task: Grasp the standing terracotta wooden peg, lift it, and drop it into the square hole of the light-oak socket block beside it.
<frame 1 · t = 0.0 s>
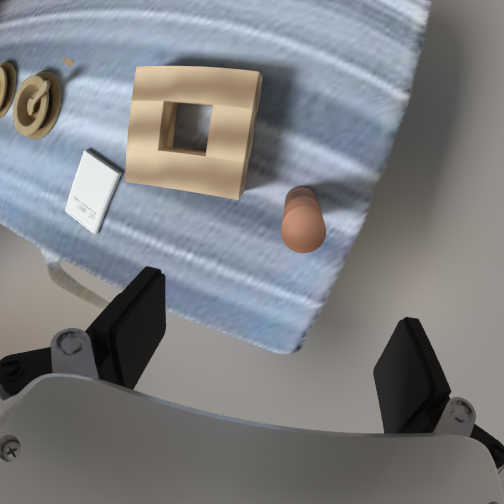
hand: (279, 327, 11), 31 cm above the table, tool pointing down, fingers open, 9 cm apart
socket block: (196, 127, 38), on the table
external hard drive: (94, 190, 45), on the table
tableware set: (21, 97, 38), on the table
peg: (301, 202, 40), on the table
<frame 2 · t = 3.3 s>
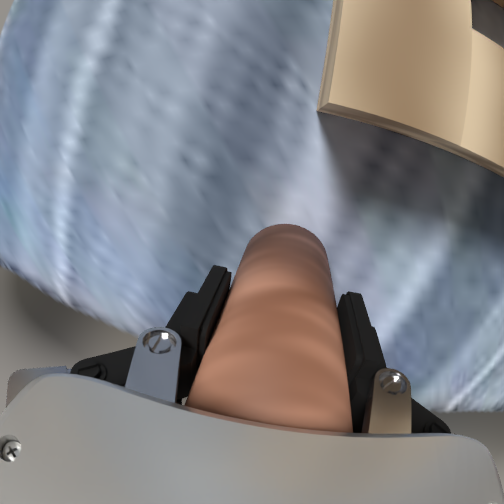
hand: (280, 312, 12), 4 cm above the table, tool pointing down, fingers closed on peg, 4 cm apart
socket block: (474, 28, 8), on the table
peg: (285, 264, 16), on the table, touching gripper
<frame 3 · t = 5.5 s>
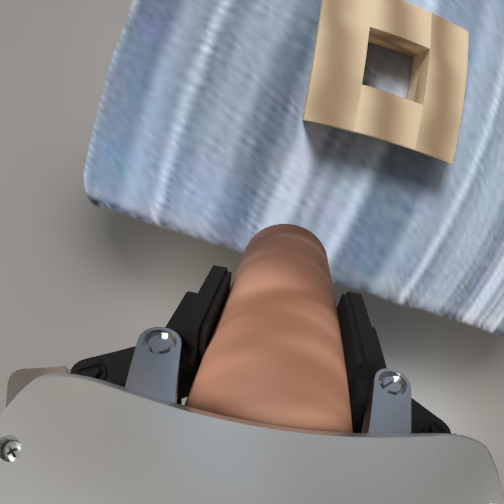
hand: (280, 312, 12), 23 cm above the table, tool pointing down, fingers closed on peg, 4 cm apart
socket block: (383, 72, 25), on the table
peg: (285, 264, 16), point 19 cm above the table, touching gripper
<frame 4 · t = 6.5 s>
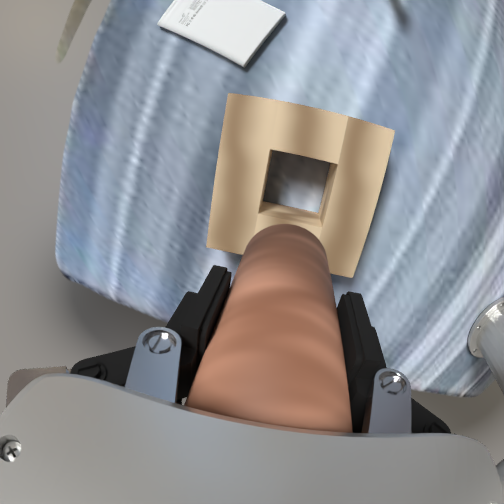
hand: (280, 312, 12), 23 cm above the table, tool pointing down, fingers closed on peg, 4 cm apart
socket block: (296, 179, 32), on the table
external hard drive: (221, 19, 26), on the table
peg: (285, 264, 16), point 19 cm above the table, touching gripper
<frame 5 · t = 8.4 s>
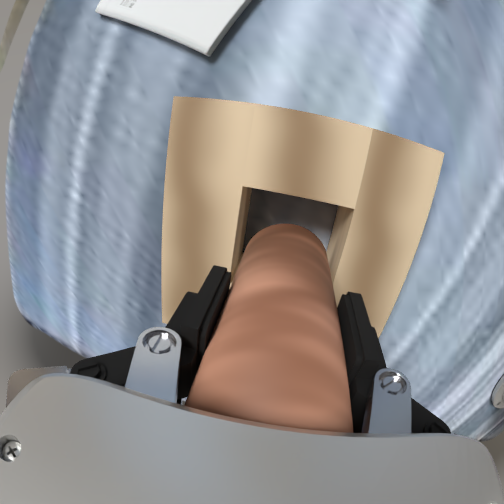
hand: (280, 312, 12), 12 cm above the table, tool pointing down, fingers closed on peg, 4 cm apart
socket block: (290, 222, 22), on the table
peg: (285, 263, 16), point 7 cm above the table, touching gripper
when the fingers open (6 cm above the table, at t = 9.8 s): peg drops 2 cm, resting in socket block.
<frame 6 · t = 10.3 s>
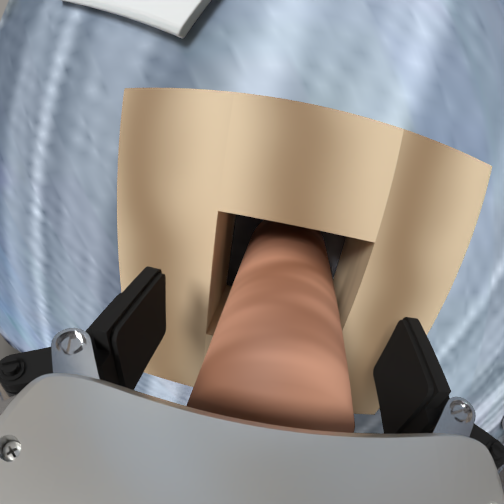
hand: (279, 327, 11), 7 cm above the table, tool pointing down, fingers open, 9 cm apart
socket block: (286, 249, 17), on the table
peg: (287, 249, 17), resting in socket block
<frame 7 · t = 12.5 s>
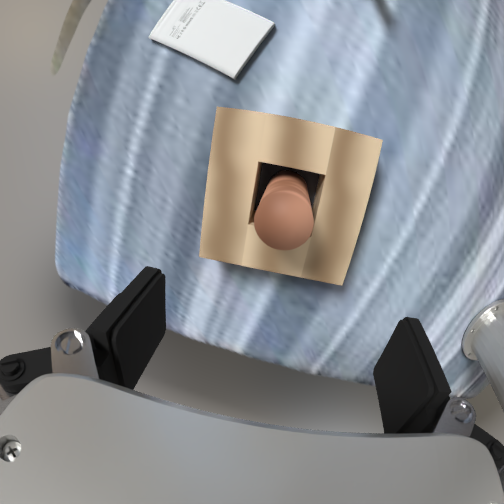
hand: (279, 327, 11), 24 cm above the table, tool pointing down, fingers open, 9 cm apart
socket block: (287, 189, 33), on the table
external hard drive: (211, 30, 27), on the table
peg: (287, 189, 33), resting in socket block
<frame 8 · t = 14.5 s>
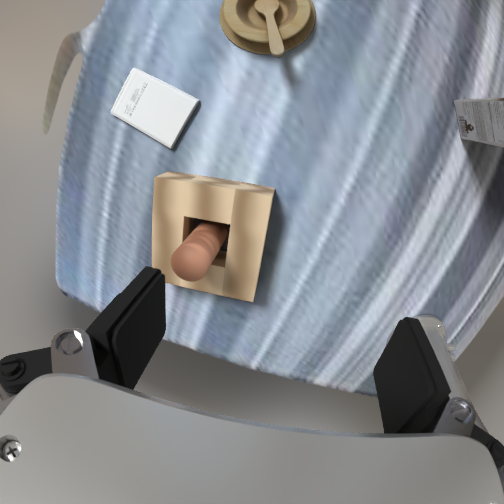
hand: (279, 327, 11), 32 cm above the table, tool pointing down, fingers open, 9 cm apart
socket block: (213, 229, 45), on the table
external hard drive: (155, 106, 39), on the table
peg: (214, 229, 45), resting in socket block
coffee box: (477, 119, 31), on the table
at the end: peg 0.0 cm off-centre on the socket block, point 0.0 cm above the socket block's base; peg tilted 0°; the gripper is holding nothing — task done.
